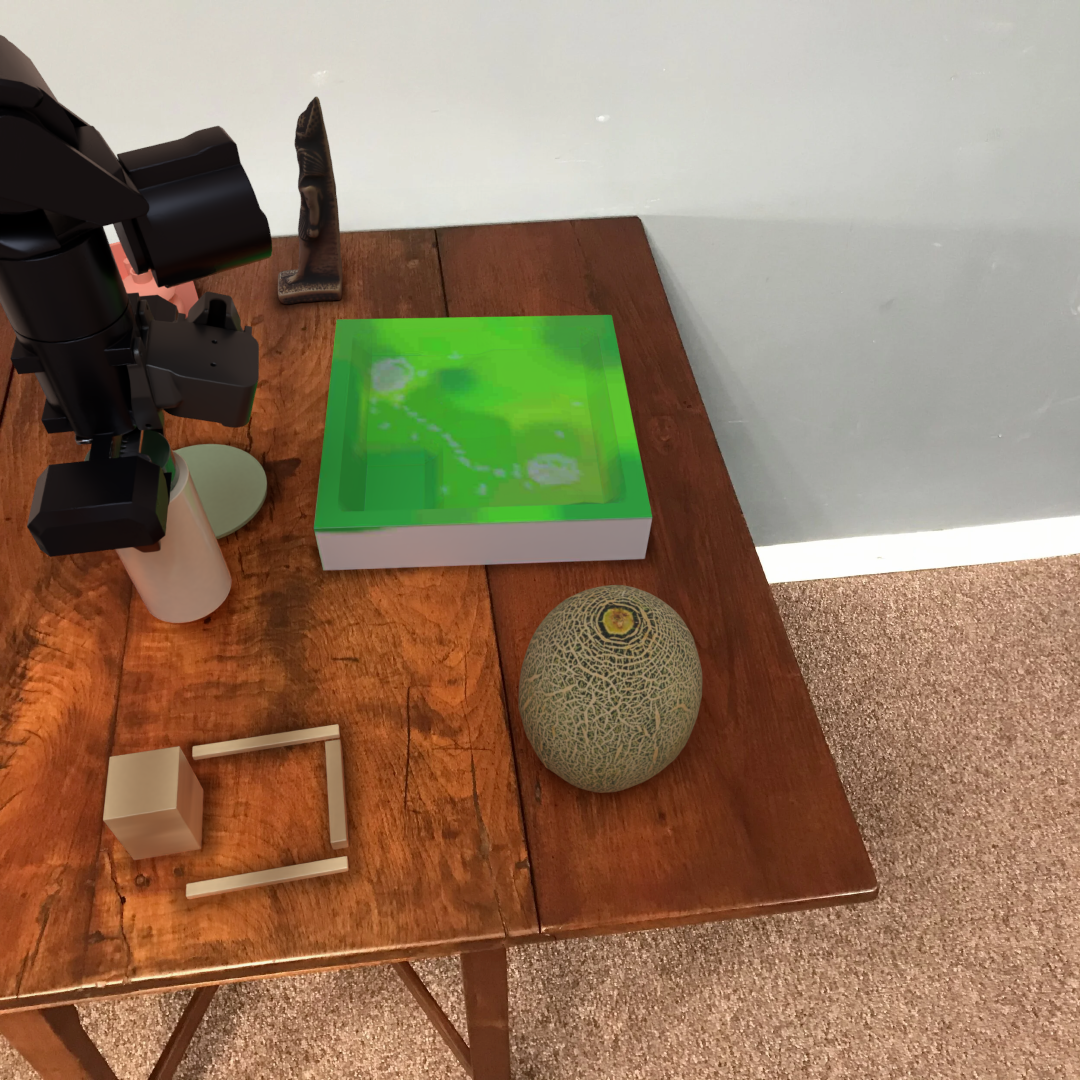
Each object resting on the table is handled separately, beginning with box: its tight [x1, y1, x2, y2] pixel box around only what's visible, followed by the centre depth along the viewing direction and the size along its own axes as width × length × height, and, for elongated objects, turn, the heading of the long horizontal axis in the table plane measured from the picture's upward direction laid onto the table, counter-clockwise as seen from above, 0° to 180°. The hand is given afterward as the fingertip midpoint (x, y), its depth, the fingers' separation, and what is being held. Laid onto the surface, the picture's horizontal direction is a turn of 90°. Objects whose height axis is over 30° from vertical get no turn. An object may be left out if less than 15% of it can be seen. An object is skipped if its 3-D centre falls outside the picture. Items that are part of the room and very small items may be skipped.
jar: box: [83, 430, 233, 624], centre depth 61 cm, size 13×6×13 cm
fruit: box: [518, 584, 703, 794], centre depth 58 cm, size 11×11×15 cm
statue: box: [277, 96, 344, 305], centre depth 88 cm, size 4×7×20 cm, turn 100°
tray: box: [313, 314, 653, 571], centre depth 79 cm, size 25×25×5 cm
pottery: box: [109, 241, 200, 319], centre depth 87 cm, size 18×10×10 cm, turn 29°
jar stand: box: [102, 723, 350, 900], centre depth 57 cm, size 13×10×6 cm
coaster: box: [173, 443, 268, 540], centre depth 77 cm, size 11×11×1 cm
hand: (156, 512), depth 60 cm, fingers closed on jar, 6 cm apart
